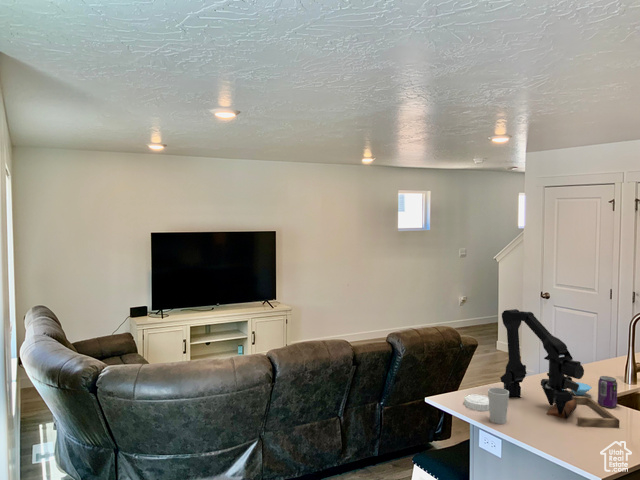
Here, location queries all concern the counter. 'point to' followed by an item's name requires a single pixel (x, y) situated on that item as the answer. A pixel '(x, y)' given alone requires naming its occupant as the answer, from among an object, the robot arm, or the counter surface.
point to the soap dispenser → (581, 389)
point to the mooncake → (477, 402)
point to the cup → (498, 404)
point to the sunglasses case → (566, 411)
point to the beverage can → (607, 391)
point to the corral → (607, 418)
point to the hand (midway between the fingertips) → (555, 409)
